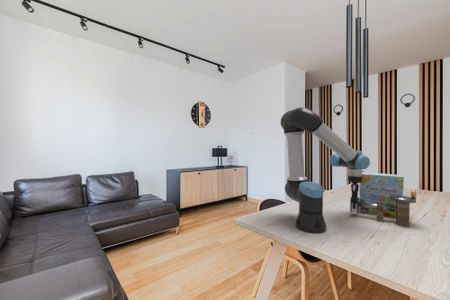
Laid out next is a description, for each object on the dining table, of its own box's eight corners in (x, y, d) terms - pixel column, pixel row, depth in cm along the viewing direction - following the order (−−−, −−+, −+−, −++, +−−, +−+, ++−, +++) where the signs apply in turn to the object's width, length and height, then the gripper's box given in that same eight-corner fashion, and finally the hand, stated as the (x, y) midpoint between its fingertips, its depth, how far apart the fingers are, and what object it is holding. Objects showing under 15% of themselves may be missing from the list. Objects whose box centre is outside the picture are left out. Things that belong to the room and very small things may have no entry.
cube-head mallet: (400, 220, 113) (400, 204, 113) (350, 212, 128) (350, 197, 127) (399, 218, 116) (399, 202, 116) (350, 210, 130) (351, 196, 130)
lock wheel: (412, 199, 116) (412, 189, 116) (419, 204, 107) (419, 193, 106) (388, 196, 122) (388, 187, 121) (392, 201, 112) (392, 191, 112)
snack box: (359, 213, 132) (359, 173, 131) (358, 209, 139) (359, 172, 138) (403, 219, 120) (404, 176, 120) (400, 215, 128) (400, 174, 127)
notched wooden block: (409, 227, 109) (409, 203, 109) (376, 221, 118) (377, 198, 117) (407, 222, 116) (407, 199, 116) (376, 216, 125) (376, 195, 124)
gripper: (361, 177, 118) (360, 217, 119) (363, 174, 132) (362, 210, 132) (346, 176, 123) (346, 215, 123) (349, 173, 136) (349, 208, 137)
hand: (354, 212), depth 128 cm, fingers closed on cube-head mallet, 4 cm apart
